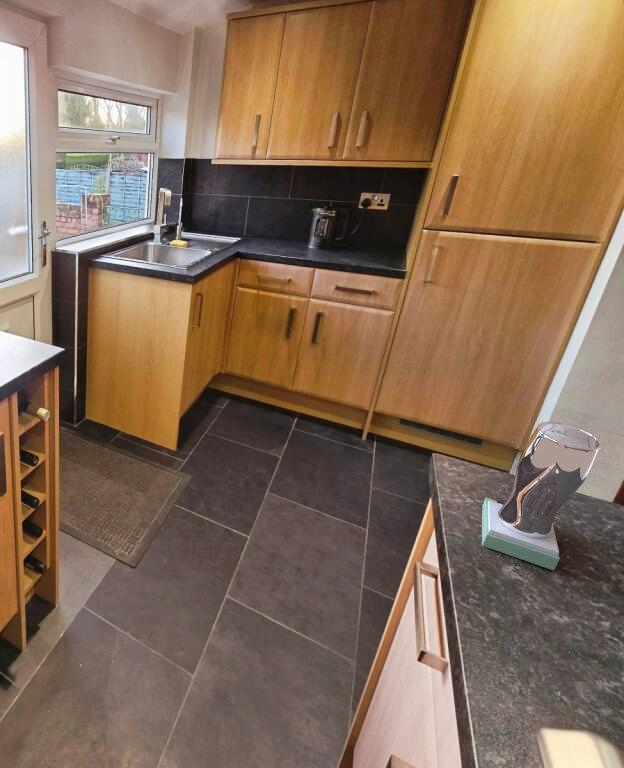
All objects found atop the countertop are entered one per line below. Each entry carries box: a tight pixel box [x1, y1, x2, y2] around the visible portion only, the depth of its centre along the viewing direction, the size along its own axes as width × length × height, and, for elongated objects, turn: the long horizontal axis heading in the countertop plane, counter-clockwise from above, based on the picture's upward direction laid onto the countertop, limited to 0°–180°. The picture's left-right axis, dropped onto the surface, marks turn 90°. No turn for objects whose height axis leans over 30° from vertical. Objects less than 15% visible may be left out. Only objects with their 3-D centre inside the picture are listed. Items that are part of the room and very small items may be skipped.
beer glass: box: [497, 421, 603, 538], centre depth 67 cm, size 7×7×15 cm
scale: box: [481, 497, 561, 571], centre depth 72 cm, size 11×8×3 cm
